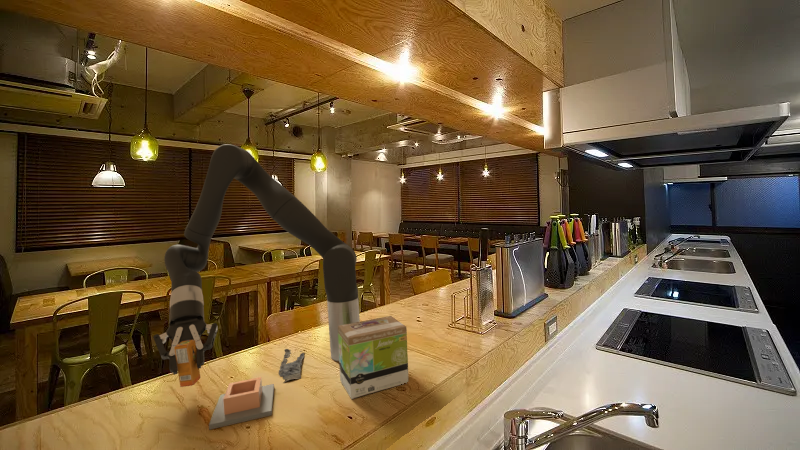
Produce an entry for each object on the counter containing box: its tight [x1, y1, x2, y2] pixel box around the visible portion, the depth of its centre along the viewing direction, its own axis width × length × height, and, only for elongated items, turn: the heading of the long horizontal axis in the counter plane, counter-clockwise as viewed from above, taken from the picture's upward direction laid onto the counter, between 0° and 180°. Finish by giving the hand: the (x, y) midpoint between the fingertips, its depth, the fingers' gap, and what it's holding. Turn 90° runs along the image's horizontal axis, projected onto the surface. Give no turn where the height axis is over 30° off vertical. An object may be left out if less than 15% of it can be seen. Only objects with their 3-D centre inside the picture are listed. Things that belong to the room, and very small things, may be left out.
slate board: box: [208, 383, 275, 430], centre depth 75 cm, size 12×12×1 cm
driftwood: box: [278, 348, 305, 383], centre depth 95 cm, size 21×7×2 cm, turn 11°
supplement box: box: [174, 340, 201, 388], centre depth 79 cm, size 3×3×10 cm
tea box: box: [338, 315, 409, 400], centre depth 83 cm, size 15×10×15 cm
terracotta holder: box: [223, 376, 263, 415], centre depth 75 cm, size 7×7×4 cm
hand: (187, 369), depth 77 cm, fingers closed on supplement box, 4 cm apart
